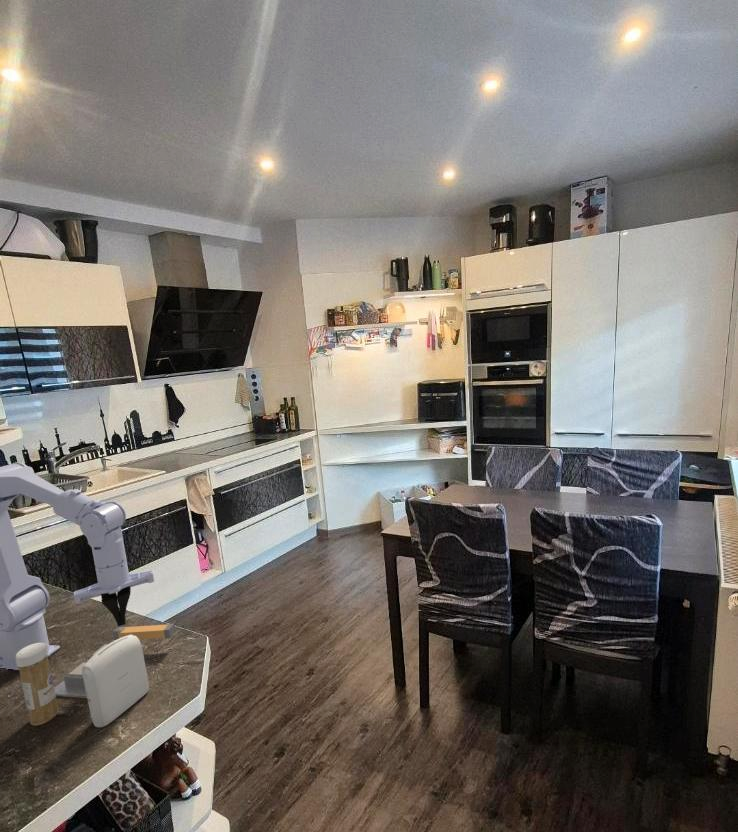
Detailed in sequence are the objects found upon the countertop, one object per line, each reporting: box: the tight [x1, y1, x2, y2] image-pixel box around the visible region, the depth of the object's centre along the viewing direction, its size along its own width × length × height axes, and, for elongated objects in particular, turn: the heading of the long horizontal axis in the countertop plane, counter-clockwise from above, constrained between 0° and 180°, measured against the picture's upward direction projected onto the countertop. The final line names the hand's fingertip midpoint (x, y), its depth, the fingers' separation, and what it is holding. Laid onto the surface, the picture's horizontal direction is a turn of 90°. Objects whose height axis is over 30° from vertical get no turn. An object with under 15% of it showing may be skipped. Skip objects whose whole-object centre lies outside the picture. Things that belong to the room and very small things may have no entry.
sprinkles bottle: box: [15, 643, 60, 727], centre depth 83 cm, size 5×5×13 cm
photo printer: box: [82, 635, 150, 728], centre depth 83 cm, size 10×4×12 cm, turn 154°
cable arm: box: [112, 622, 176, 641], centre depth 101 cm, size 13×2×2 cm, turn 87°
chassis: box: [54, 642, 145, 699], centre depth 96 cm, size 10×16×3 cm, turn 168°
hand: (121, 623), depth 96 cm, fingers closed
